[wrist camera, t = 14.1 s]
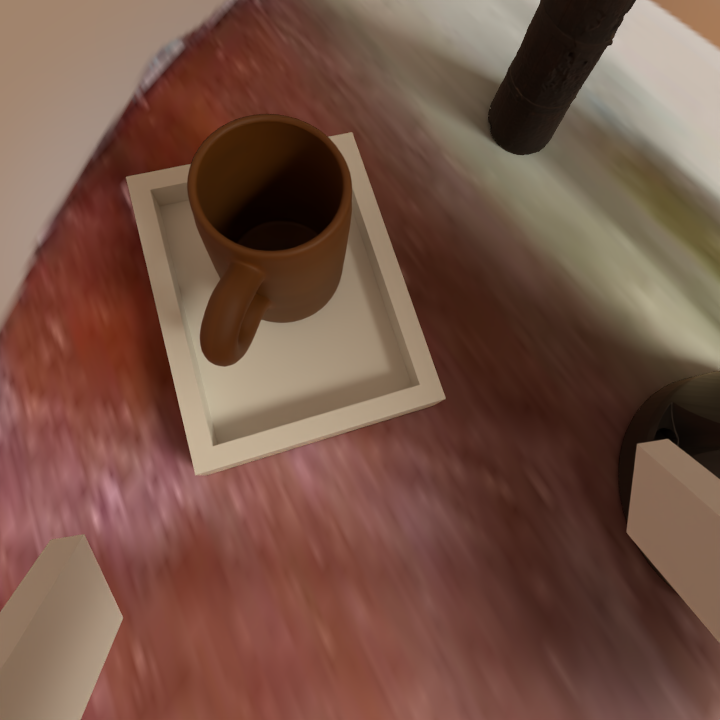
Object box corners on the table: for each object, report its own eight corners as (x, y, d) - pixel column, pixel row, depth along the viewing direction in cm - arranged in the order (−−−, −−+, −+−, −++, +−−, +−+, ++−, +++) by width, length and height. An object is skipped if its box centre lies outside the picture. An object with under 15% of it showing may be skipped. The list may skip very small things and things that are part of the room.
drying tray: (348, 159, 34) (352, 132, 31) (433, 405, 30) (445, 398, 28) (141, 202, 31) (125, 176, 29) (206, 475, 28) (195, 475, 25)
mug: (298, 410, 28) (293, 378, 19) (175, 372, 28) (111, 321, 19) (356, 237, 31) (375, 140, 22) (245, 201, 31) (219, 88, 22)
